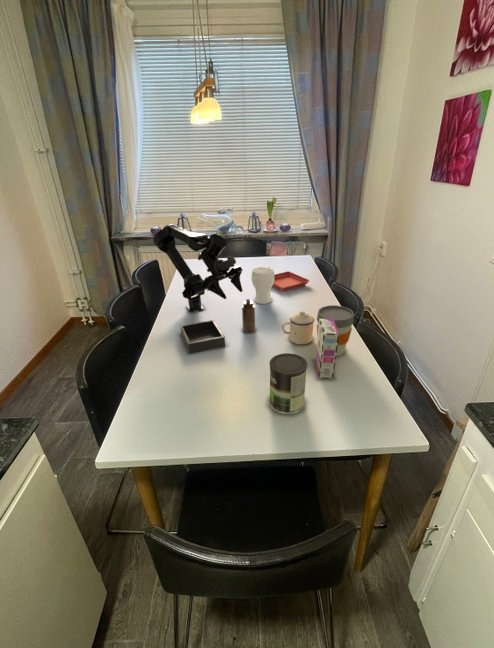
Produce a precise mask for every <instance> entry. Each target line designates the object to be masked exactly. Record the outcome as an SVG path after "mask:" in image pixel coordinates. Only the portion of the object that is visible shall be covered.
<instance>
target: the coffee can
mask: <svg viewBox="0 0 494 648" xmlns="http://www.w3.org/2000/svg"><path fill="white" fill-rule="evenodd" d="M307 369H308V361H307V360H306V358H305V357H304V356H301V355H299V354H296V353H292V352H291V353H289V352H288V353H287V352H286V353H285V352H284V353H279V354H277V355H274V356H273V357H272V358H270V360H269V400H268V402H269V406H270V408H271V409H272V410H273V411H274V412H276V413H279V414H281V415H294V414H297V413H299V412H301V411H302V410H303V409H304V407H305V396H306V395H305V393H306V381H307Z"/></svg>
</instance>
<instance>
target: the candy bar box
mask: <svg viewBox="0 0 494 648" xmlns="http://www.w3.org/2000/svg"><path fill="white" fill-rule="evenodd" d="M338 340H339V333H338V330H337V327H336V324H335V322H334V319H319V328H318V337H317V339H316V349H315V366H316V371H317V376H318V379H323V380H324V379H326V380H333V379H334V375H335V369H336V360H337V356H336V354H337V347H338Z"/></svg>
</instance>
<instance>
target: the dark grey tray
mask: <svg viewBox="0 0 494 648" xmlns="http://www.w3.org/2000/svg"><path fill="white" fill-rule="evenodd" d="M179 328H180V335H181V338H182V339H183V342H184V344H185V346H186V348H187V351H188V353H189V354H193V353H199V352H203V351H208V350H214V349H219V348H223V347H226V338H225V335H224V334H223V332H222V331H221V329H220V328H219V326H218V325H217V323H216V321H215V320H214V319H209V320H204V321H198V322H192V323H187V324H182V325H180V326H179Z"/></svg>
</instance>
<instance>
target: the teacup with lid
mask: <svg viewBox="0 0 494 648" xmlns="http://www.w3.org/2000/svg"><path fill="white" fill-rule="evenodd" d="M314 322H315V317H314V316H313V315H312V314H310V313H307V312H306V311H305V310H300V311H299V312H296V313H293V314H292V315H290V317H289V321H285V322H284V323H283V324H282V325H281V331H282V332H283V333H284V334H286V335H289V340H290V341H291V342H292V343H293V344H297V345H307V344H310V343H311V342H312V341H313V333H314ZM286 325H289V331H286V330H285V326H286Z"/></svg>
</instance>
